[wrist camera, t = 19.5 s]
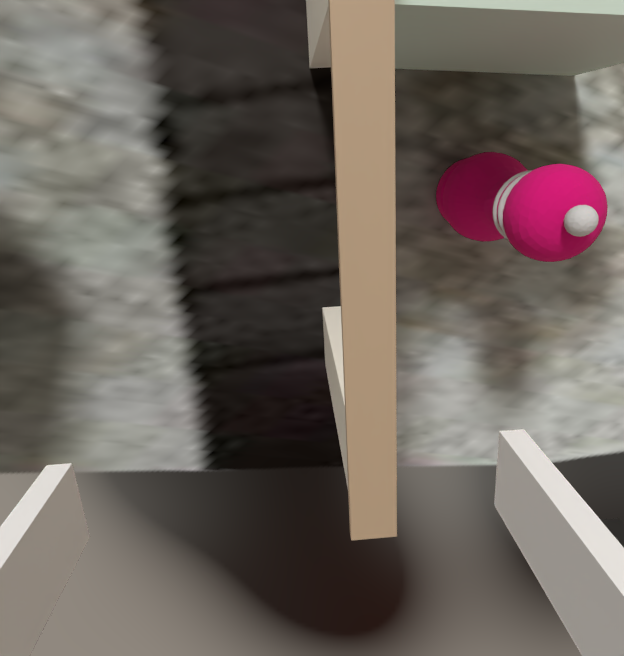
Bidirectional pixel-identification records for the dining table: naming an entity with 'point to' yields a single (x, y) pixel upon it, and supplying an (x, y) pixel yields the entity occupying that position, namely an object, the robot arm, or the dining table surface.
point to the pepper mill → (523, 205)
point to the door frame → (363, 251)
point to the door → (509, 35)
